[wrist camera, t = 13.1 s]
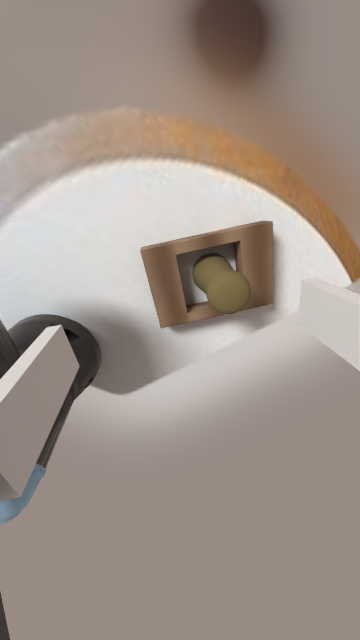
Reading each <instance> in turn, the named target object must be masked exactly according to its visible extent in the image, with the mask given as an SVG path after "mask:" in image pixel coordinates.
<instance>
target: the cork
mask: <svg viewBox="0 0 360 640" xmlns="http://www.w3.org/2000/svg"><path fill="white" fill-rule="evenodd" d="M192 275H193V280H194V283H195V284H196V285H197V286H198V288H200V289H201V290H202V291H203V292H204V293H206V294H207V298H208V301H209V303H210V305H211V306H212V307H213V308H214V309H215V310H217V311H219V312H220V313H224V314H231V313H235V312H238V311H240V310H241V309H242V308H244V307H245V305H246V304H247V303H248V301H249V299H250V296H251V287H250V283H249V281H248V280H247V278H246V277H245V276H244V275H242V274H241V273H239V272H237V271H233V269H232V268H231V266H230V264H229V263H228V261H227V260H226V259H225V258H224V257H223V256H221V255H219V254H215V253H211V254H206V255H204V256H202V257H201V258H200V259H199V260H197V262H196V263H195V265H194V268H193V271H192Z"/></svg>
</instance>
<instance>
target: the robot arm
mask: <svg viewBox="0 0 360 640" xmlns="http://www.w3.org/2000/svg"><path fill="white" fill-rule="evenodd" d="M298 324H299V325H300V326H301V327H303V328H304V329H305V330H306V331H308V332H309V333H310V334H312V335H313V336H314V337H316V338H317V339H318V340H320V341H321V342H322V343H324V344H325V345H327V346H328V347H329V348H330V349H332V350H333V351H334V352H336V353H337V354H338V355H340V356H341V357H342V358H344V359H345V360H346V361H347V362H349V363H350V364H351V365H353V366H354V367H355V368H357V369H358V370H359V371H360V295H359V294H356V293H354V292H351V291H349V290H346V289H344V288H341V287H339V286H336V285H333V284H331V283H328V282H326V281H323V280H321V279H318V278H316V277H314V278H309V279H304V280H302V285H301V295H300V305H299V316H298ZM100 361H101V354H100V349H99V346H98V344H97V342H96V340H95V339H94V337H93V336H92V335H91V334H90V333H89V332H88V331H87V330H86V329H85V328H84V327H83V326H81V325H80V324H78V323H76V322H74V321H72V320H70V319H68V318H65V317H61V316H56V315H35V316H31V317H28V318H25V319H23V320H21V321H20V322H18V323H17V324H16V325H14V326H13V327H12V328H11V329H9V330H8V331H7V330H6V328H5V327H4V325H3V323H2V321H1V320H0V525H2V524H4V523H6V522H8V521H9V520H11V519H13V518H14V517H15V516H17V515H18V514H19V513H20V512H21V511H22V510H23V509H24V508H25V507H26V506H27V504H28V503H29V501H30V499H31V497H32V495H33V493H34V491H35V489H36V487H37V485H38V483H39V481H40V480H41V478H42V477H43V476H44V474H45V471H46V470H45V469H46V466H47V463H48V461H49V459H50V456H51V454H52V451H53V449H54V446H55V444H56V442H57V439H58V437H59V434H60V432H61V430H62V427H63V425H64V422H65V420H66V418H67V415H68V413H69V411H70V408H71V406H72V403H73V401H74V400H75V399H76V398H77V397H78V396H79V395H80V394H81V393H82V392H83V391H84V389H85V388H87V387H88V386H89V385H90V384H91V382H92V381H93V380H94V378H95V376H96V374H97V371H98V368H99V366H100ZM0 640H10V638H9V633H8V628H7V623H6V618H5V613H4V608H3V604H2V598H1V593H0Z"/></svg>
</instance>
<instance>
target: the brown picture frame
mask: <svg viewBox="0 0 360 640" xmlns="http://www.w3.org/2000/svg"><path fill="white" fill-rule="evenodd" d="M231 242H234V250H235V262H236V271H237V272H239V273H241V274H242V275H244V276H245V277H246V278H247V280H248V281H249V283H250V287H251V296H250V299H249V301H248V303H247V304H246V305H245V307H244V308H242V309H241V310H246V309H250V308H255V307H259V306H264V305H268V304H273V222H271V221H259V222H255V223H250V224H246V225H241V226H237V227H232V228H227V229H223V230H218V231H214V232H209V233H205V234H200V235H196V236H191V237H187V238H182V239H177V240H173V241H168V242H164V243H159V244H155V245H150V246H146V247H142V248H141V250H140V251H141V255H142V259H143V262H144V266H145V270H146V274H147V277H148V281H149V285H150V289H151V292H152V296H153V300H154V304H155V307H156V311H157V315H158V319H159V322H160V326H161V328H165V327H169V326H174V325H178V324H183V323H187V322H192V321H196V320H201V319H205V318H210V317H214V316H219V315H223V314H224V313H220V312H219V311H217V310H215V309H214V308H213V307H212V306H211V305H210V303H209V301H206V302H202V303H197V304H193V305H188V306H186V304H185V299H184V294H183V289H182V284H181V279H180V274H179V269H178V263H177V258H176V255H177V254H181V253H186V252H191V251H195V250H200V249H204V248H209V247H213V246H218V245H222V244H227V243H231ZM241 310H240V311H241Z"/></svg>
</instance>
